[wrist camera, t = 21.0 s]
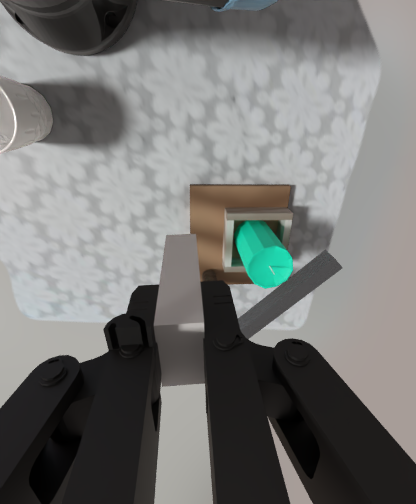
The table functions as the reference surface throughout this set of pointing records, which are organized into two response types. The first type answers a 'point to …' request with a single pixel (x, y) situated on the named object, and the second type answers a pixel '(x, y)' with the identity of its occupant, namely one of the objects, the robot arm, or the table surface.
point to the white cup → (22, 115)
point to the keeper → (284, 292)
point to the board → (234, 223)
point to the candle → (262, 254)
